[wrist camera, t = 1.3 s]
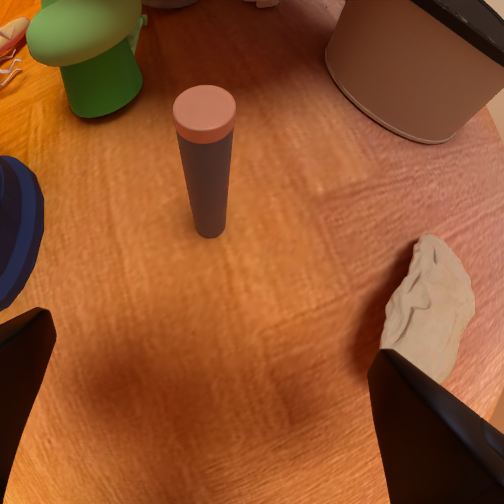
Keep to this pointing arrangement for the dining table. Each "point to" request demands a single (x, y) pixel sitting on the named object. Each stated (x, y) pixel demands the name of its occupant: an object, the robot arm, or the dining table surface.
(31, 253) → the lantern
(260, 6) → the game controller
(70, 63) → the toy character
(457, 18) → the container
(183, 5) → the flying saucer
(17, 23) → the donut
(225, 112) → the capped glue stick
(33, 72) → the dining table surface
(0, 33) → the origami figure
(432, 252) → the stone
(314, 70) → the dining table surface
